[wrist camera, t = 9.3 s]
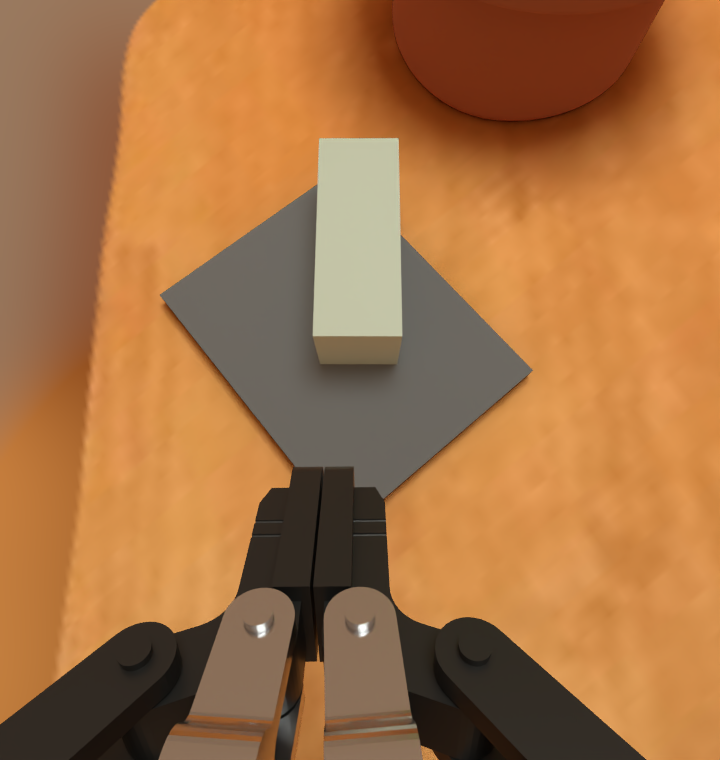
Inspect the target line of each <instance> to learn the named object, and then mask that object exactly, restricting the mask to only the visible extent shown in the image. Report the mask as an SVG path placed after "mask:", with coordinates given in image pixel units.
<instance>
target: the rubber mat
mask: <svg viewBox="0 0 720 760" xmlns="http://www.w3.org/2000/svg"><path fill="white" fill-rule="evenodd" d="M317 190H318V184H317V185H316V186H314V187H313V188H311V189H310V190H309V191H307V192H306V193H304V194H303V195H301V196H300V197H299V198H297V199H296V200H294V201H293V202H291V203H290V204H289V205H287V206H286V207H284V208H283V209H282V210H280V211H279V212H277V213H276V214H274V215H273V216H272V217H270V218H269V219H267V220H266V221H264V222H263V223H262V224H260V225H259V226H257V227H256V228H254V229H253V230H252V231H250V232H249V233H247V234H246V235H244V236H243V237H242V238H240V239H239V240H237V241H236V242H234V243H233V244H232V245H230V246H229V247H227V248H226V249H224V250H223V251H222V252H220V253H219V254H217V255H216V256H214V257H213V258H212V259H210V260H209V261H207V262H206V263H204V264H203V265H202V266H200V267H199V268H197V269H196V270H195V271H193V272H192V273H190V274H189V275H187V276H186V277H185V278H183V279H182V280H180V281H179V282H177V283H176V284H175V285H173V286H172V287H170V288H169V289H167V290H166V291H165V292H163V293H162V294H160V296H161V297H162V299H163V300H164V301H165V302H166V304H167V305H168V306H169V307H170V309H171V310H172V311H173V312H174V314H175V315H176V316H177V318H178V319H179V320H180V321H181V323H182V324H183V325H184V326H185V328H186V329H187V330H188V331H189V333H190V334H191V335H192V337H193V338H194V339H195V340H196V342H197V343H198V344H199V345H200V347H201V348H202V349H203V350H204V352H205V353H206V354H207V356H208V357H209V358H210V359H211V361H212V362H213V363H214V364H215V366H216V367H217V368H218V369H219V371H220V372H221V373H222V375H223V376H224V377H225V378H226V380H227V381H228V382H229V383H230V385H231V386H232V387H233V388H234V390H235V391H236V392H237V394H238V395H239V396H240V397H241V399H242V400H243V401H244V402H245V404H246V405H247V406H248V407H249V409H250V410H251V411H252V412H253V414H254V415H255V416H256V418H257V419H258V420H259V421H260V423H261V424H262V425H263V426H264V428H265V429H266V430H267V431H268V433H269V434H270V435H271V437H272V438H273V439H274V440H275V442H276V443H277V444H278V445H279V447H280V448H281V449H282V450H283V452H284V453H285V454H286V456H287V457H288V458H289V459H290V461H291V462H292V463H293V464H294V466H295V467H323V470H324V469H325V467H334V466H354V482H355V487H376V489H377V490H378V492H379V494H380V495H381V497H382V498H383V499H384V498H386V497H387V496H388V495H389V494H390V493H391V492H393V491H394V490H395V489H396V488H397V487H398V486H400V485H401V484H402V483H403V482H404V481H405V480H407V479H408V478H409V477H410V476H411V475H412V474H414V473H415V472H416V471H417V470H418V469H419V468H421V467H422V466H423V465H424V464H425V463H426V462H428V461H429V460H430V459H431V458H432V457H433V456H434V455H436V454H437V453H438V452H439V451H440V450H441V449H443V448H444V447H445V446H446V445H447V444H448V443H450V442H451V441H452V440H453V439H454V438H455V437H457V436H458V435H459V434H460V433H461V432H462V431H464V430H465V429H466V428H467V427H468V426H469V425H471V424H472V423H473V422H474V421H475V420H476V419H478V418H479V417H480V416H481V415H482V414H483V413H485V412H486V411H487V410H488V409H489V408H490V407H492V406H493V405H494V404H495V403H496V402H497V401H498V400H500V399H501V398H502V397H503V396H504V395H505V394H507V393H508V392H509V391H510V390H511V389H512V388H514V387H515V386H516V385H517V384H518V383H519V382H521V381H522V380H523V379H524V378H525V377H526V376H528V375H529V374H530V373H531V372H532V371H533V370H532V369H531V368H530V367H529V366H528V365H527V364H526V363H525V362H524V361H523V360H522V359H521V358H520V357H519V356H518V355H517V354H516V353H515V352H514V351H513V350H512V349H511V348H510V347H509V346H508V344H507V343H506V342H505V341H504V340H503V339H502V338H501V337H500V336H499V335H498V334H497V333H496V332H495V331H494V330H493V329H492V328H491V327H490V326H489V325H488V324H487V323H486V322H485V321H484V320H483V319H482V318H481V317H480V316H479V315H478V314H477V313H476V312H475V311H474V310H473V309H472V308H471V307H470V305H469V304H468V303H467V302H466V301H465V300H464V299H463V298H462V297H461V296H460V295H459V294H458V293H457V292H456V291H455V290H454V289H453V288H452V287H451V286H450V285H449V284H448V283H447V282H446V281H445V280H444V279H443V278H442V277H441V276H440V275H439V274H438V273H437V272H436V271H435V270H434V269H433V268H432V266H431V265H430V264H429V263H428V262H427V261H426V260H425V259H424V258H423V257H422V256H421V255H420V254H419V253H418V252H417V251H416V250H415V249H414V248H413V247H412V246H411V245H410V244H409V243H408V242H407V241H406V240H405V239H404V238H403V237H402V236H401V235H400V239H401V291H402V341H401V346H400V352H399V357H398V362H397V364H320V362H319V358H318V354H317V351H316V347H315V343H314V339H313V311H314V280H315V250H316V220H317Z"/></svg>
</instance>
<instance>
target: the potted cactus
mask: <svg viewBox="0 0 720 760" xmlns="http://www.w3.org/2000/svg"><path fill="white" fill-rule="evenodd" d="M663 2H664V0H393V3H392V18H393V28H394V34H395V38H396V41H397V45H398V47H399V50H400V52H401V54H402V56H403V58H404V60H405V62H406V64H407V66H408V67H409V69H410V70H411V72H412V73H413V74H414V76H415V77H416V78H417V80H418V81H419V82H420V83H421V84H422V85H423V86H424V87H425V88H426V89H427V90H428V91H429V92H430V93H432V94H433V95H434V96H435V97H437V98H438V99H440V100H441V101H442V102H444V103H446V104H447V105H449V106H451V107H453V108H455V109H457V110H459V111H461V112H464V113H467V114H470V115H473V116H477V117H481V118H485V119H492V120H502V121H524V120H534V119H540V118H546V117H550V116H555V115H559V114H562V113H565V112H568V111H571V110H573V109H575V108H578V107H580V106H582V105H584V104H586V103H588V102H590V101H592V100H593V99H595V98H596V97H598V96H600V95H601V94H602V93H604V92H605V91H606V90H607V89H609V88H610V87H611V86H612V85H613V84H614V83H615V82H616V81H617V80H618V79H619V77H620V76H621V75H622V73H623V72H624V71H625V69H626V68H627V66H628V64H629V63H630V61H631V59H632V57H633V56H634V54H635V52H636V50H637V48H638V47H639V45H640V43H641V41H642V40H643V38H644V36H645V34H646V32H647V31H648V29H649V27H650V25H651V23H652V22H653V20H654V18H655V16H656V15H657V13H658V11H659V9H660V7H661V6H662V4H663Z"/></svg>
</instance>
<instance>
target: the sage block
mask: <svg viewBox="0 0 720 760" xmlns="http://www.w3.org/2000/svg"><path fill="white" fill-rule="evenodd" d="M313 339H314V343H315V347H316V351H317V354H318V358H319V362H320V364H397V362H398V357H399V352H400V346H401V341H402V291H401V239H400V187H399V138H319V159H318V190H317V220H316V250H315V280H314V311H313Z"/></svg>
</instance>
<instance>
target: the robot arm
mask: <svg viewBox="0 0 720 760" xmlns="http://www.w3.org/2000/svg"><path fill="white" fill-rule="evenodd" d="M318 646H319V657H320V662H324V675H325V728H324V760H423V758H422V752H421V745H422V746H424V747H427V748H430V749H432V750H433V752H434V754H435V755H436V756H437V758H438V759H439V760H646V759H645V758H644V757H643V756H641V755H640V754H639V753H638V752H637V751H636V750H635V749H634V748H632V747H631V746H630V745H629V744H628V743H627V742H626V741H625V740H623V739H622V738H621V737H620V736H619V735H618V734H617V733H615V732H614V731H613V730H612V729H611V728H610V727H609V726H608V725H606V724H605V723H604V722H603V721H602V720H601V719H600V718H599V717H597V716H596V715H595V714H594V713H593V712H592V711H591V710H590V709H588V708H587V707H586V706H585V705H584V704H583V703H582V702H580V701H579V700H578V699H577V698H576V697H575V696H574V695H573V694H571V693H570V692H569V691H568V690H567V689H566V688H565V687H564V686H562V685H561V684H560V683H559V682H558V681H557V680H556V679H554V678H553V677H552V676H551V675H550V674H549V673H548V672H547V671H545V670H544V669H543V668H542V667H541V666H540V665H539V664H538V663H536V662H535V661H534V660H533V659H532V658H531V657H530V656H528V655H527V654H526V653H525V652H524V651H523V650H522V649H521V648H519V647H518V646H517V645H516V644H515V643H514V642H513V641H512V640H510V639H509V638H508V637H507V636H506V635H505V634H504V633H503V632H501V631H500V630H499V629H498V628H496V627H495V626H494V625H492V624H490V623H489V622H486V621H484V620H481V619H477V618H471V617H465V618H459V619H455V620H453V621H451V622H449V623H447V624H446V625H445V626H444V627H443V628H442V629H438V628H434V627H431V626H428V625H425V624H421V623H419V622H416V621H414V620H412V619H410V618H409V617H407V616H406V615H405V614H403V613H402V612H401V611H400V610H399V609H398V607H397V606H396V605H395V603H394V601H393V599H392V597H391V594H390V587H389V569H388V552H387V536H386V517H385V501H384V500H383V498H382V497H381V495H380V494H379V492H378V490H377V489H376V487H355V482H354V466H334V467H325V469H324V470H323V467H293V470H292V476H291V481H290V487H289V488H272V489H271V490H270V491H269V492H268V493H267V495H266V496H265V497H264V498H263V500H262V501H261V502H260V504H259V508H258V512H257V516H256V523H255V524H254V528H253V532H252V538H251V541H250V545H249V549H248V553H247V557H246V561H245V565H244V569H243V573H242V577H241V581H240V585H239V589H238V592H237V595H236V597H235V599H234V601H233V602H232V603H231V604H230V605H229V606H228V608H227V609H226V611H224V612H223V613H222V614H221V615H220V616H218V617H217V618H215V619H214V620H212V621H210V622H208V623H205V624H203V625H200V626H197V627H194V628H190V629H187V630H184V631H181V632H177V633H173V632H172V631H171V629H170V628H168V627H167V626H166V625H163V624H161V623H157V622H143V623H139V624H135V625H133V626H130V627H128V628H126V629H124V630H122V631H121V632H119V633H118V634H116V635H115V636H114V637H113V638H111V639H110V640H109V641H107V642H106V643H105V644H103V645H102V646H101V647H100V648H98V649H97V650H96V651H94V652H93V653H92V654H91V655H89V656H88V657H87V658H85V659H84V660H83V661H82V662H80V663H79V664H78V665H76V666H75V667H74V668H73V669H71V670H70V671H69V672H67V673H66V674H65V675H64V676H62V677H61V678H60V679H58V680H57V681H56V682H55V683H53V684H52V685H51V686H49V687H48V688H47V689H46V690H44V691H43V692H42V693H40V694H39V695H38V696H36V697H35V698H34V699H33V700H31V701H30V702H29V703H27V704H26V705H25V706H24V707H22V708H21V709H20V710H18V711H17V712H16V713H15V714H13V715H12V716H11V717H9V718H8V719H7V720H6V721H4V722H3V723H2V724H0V760H295V757H296V751H297V745H298V739H299V733H300V727H301V721H302V715H303V709H304V702H305V693H304V684H303V678H304V668H305V662H309V661H317V652H318Z"/></svg>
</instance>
